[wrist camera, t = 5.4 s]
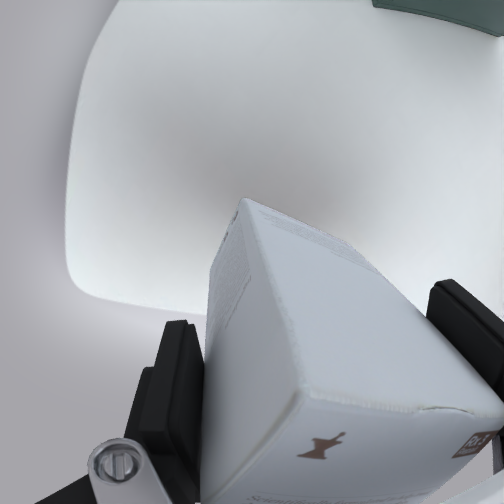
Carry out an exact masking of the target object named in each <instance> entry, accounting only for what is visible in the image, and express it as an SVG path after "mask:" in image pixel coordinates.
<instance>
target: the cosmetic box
mask: <svg viewBox="0 0 504 504" xmlns="http://www.w3.org/2000/svg"><path fill="white" fill-rule="evenodd" d="M503 426H504V403H503V402H502V400H501V399H500V398H499V397H498V395H497V394H496V393H495V392H494V391H493V389H492V388H491V387H490V386H489V385H488V384H487V382H486V381H485V380H484V379H483V378H482V377H481V376H480V374H479V373H478V372H477V371H476V370H475V369H474V368H473V367H472V365H471V364H470V363H469V362H468V361H467V360H466V359H465V358H464V357H463V356H462V355H461V353H460V352H459V351H458V350H457V349H456V348H455V347H454V346H453V345H452V344H451V343H450V342H449V341H448V340H447V339H446V338H445V336H444V335H443V334H442V333H441V332H440V331H439V330H438V329H437V328H436V327H435V326H434V325H433V324H432V323H431V322H430V321H429V320H428V319H427V318H426V317H425V316H424V315H423V314H422V313H421V312H420V311H419V310H418V309H417V308H416V307H415V306H414V305H413V304H412V303H411V302H410V301H409V300H408V299H407V298H406V297H405V296H404V295H403V294H402V293H401V292H400V291H399V290H398V289H397V288H396V287H394V286H393V285H392V284H391V283H390V282H389V281H388V280H387V279H386V278H385V277H384V276H383V275H382V274H381V273H380V272H379V271H378V270H377V269H376V268H375V267H373V266H372V265H371V264H370V263H369V262H368V261H367V260H366V259H365V258H364V257H363V256H362V255H361V254H359V253H358V252H357V251H356V250H355V249H354V248H353V247H352V246H351V245H349V244H348V243H346V242H344V241H342V240H340V239H338V238H336V237H333V236H331V235H329V234H327V233H325V232H323V231H320V230H318V229H316V228H314V227H312V226H310V225H307V224H305V223H303V222H301V221H298V220H296V219H294V218H292V217H289V216H287V215H285V214H283V213H280V212H278V211H276V210H274V209H271V208H269V207H267V206H264V205H262V204H260V203H258V202H255V201H253V200H250V199H248V198H242V199H241V201H240V202H239V205H238V207H237V209H236V212H235V214H234V216H233V218H232V220H231V222H230V225H229V227H228V229H227V231H226V234H225V236H224V238H223V240H222V243H221V245H220V247H219V250H218V252H217V254H216V257H215V259H214V261H213V264H212V266H211V269H210V283H209V293H208V309H207V323H206V339H205V358H204V377H203V400H202V447H201V465H200V502H201V504H419V503H421V502H422V501H424V500H425V499H426V498H428V497H429V496H430V495H431V494H433V493H434V492H435V491H437V490H438V489H439V488H440V487H441V486H443V485H444V484H445V483H446V482H447V481H448V480H449V479H451V478H452V477H453V476H454V475H455V474H456V473H457V472H458V471H460V470H461V469H462V468H463V467H464V466H465V465H466V464H467V463H468V462H469V461H470V460H472V459H473V458H474V457H475V456H476V455H477V454H478V453H479V452H480V450H482V449H483V448H484V447H485V446H486V444H488V442H489V441H490V440H491V439H492V438H493V437H494V436H495V435H496V434H497V433H498V431H499V430H500V429H501V428H502V427H503Z"/></svg>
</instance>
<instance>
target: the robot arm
mask: <svg viewBox="0 0 504 504" xmlns="http://www.w3.org/2000/svg"><path fill="white" fill-rule="evenodd" d="M426 318H427V319H428V320H429V321H430V322H431V323H432V324H433V325H434V326H435V327H436V328H437V329H438V330H439V331H440V332H441V333H442V334H443V335H444V336H445V338H446V339H447V340H448V341H449V342H450V343H451V344H452V345H453V346H454V347H455V348H456V349H457V350H458V351H459V352H460V353H461V355H462V356H463V357H464V358H465V359H466V360H467V361H468V362H469V363H470V364H471V365H472V367H473V368H474V369H475V370H476V371H477V372H478V373H479V374H480V376H481V377H482V378H483V379H484V380H485V381H486V382H487V384H488V385H489V386H490V387H491V388H492V389H493V391H494V392H495V393H496V394H497V395H498V397H499V398H500V399H501V400H502V402H503V403H504V322H503V321H502V320H501V319H500V318H499V317H497V316H496V315H495V314H494V313H493V312H492V311H491V310H489V309H488V308H487V307H486V306H485V305H484V304H482V303H481V302H480V301H479V300H478V299H476V298H475V297H474V296H473V295H472V294H470V293H469V292H468V291H467V290H466V289H464V288H463V287H462V286H461V285H459V284H458V283H457V282H456V281H454V280H453V279H447V280H443V281H438V282H436V283H435V285H434V287H432V288H431V290H430V295H429V301H428V307H427V313H426ZM203 377H204V361H203V357H202V353H201V349H200V345H199V341H198V337H197V333H196V328H195V326H194V324H188V322H187V320H177V321H168V322H166V325H165V329H164V332H163V336H162V339H161V342H160V346H159V350H158V353H157V357H156V361H155V365H154V367H145V368H144V369H143V371H142V374H141V377H140V380H139V384H138V388H137V391H136V394H135V398H134V401H133V405H132V408H131V412H130V416H129V419H128V423H127V426H126V430H125V434H124V438H116V439H111V440H108V441H106V442H104V443H101V444H100V445H99V446H97V447H96V448H95V449H94V450H93V452H92V453H91V455H90V456H89V460H88V463H87V466H88V474H87V475H85V476H84V477H82V478H80V479H78V480H77V481H75V482H73V483H71V484H70V485H68V486H66V487H64V488H63V489H61V490H59V491H57V492H55V493H54V494H52V495H50V496H48V497H46V498H45V499H43V500H41V501H39V502H37V503H35V504H195V503H196V502H197V503H200V465H201V447H202V400H203ZM492 449H493V476H492V477H490V478H488V479H487V480H485V481H483V482H481V483H479V484H478V485H476V486H474V487H472V488H470V489H468V490H466V491H464V492H462V493H460V494H458V495H456V496H454V497H452V498H450V499H448V500H446V501H443V502H441V503H439V504H504V426H503V427H502V428H501V429H500V430H499V431H498V433H497V434H496V435H495V436H494V437H493V438H492Z"/></svg>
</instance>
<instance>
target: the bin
mask: <svg viewBox="0 0 504 504" xmlns="http://www.w3.org/2000/svg"><path fill="white" fill-rule="evenodd" d="M372 2H373V6H374V7H379V8H386V9H392V10H399V11H404V12H410V13H415V14H420V15H424V16H429V17H433V18H437V19H441V20H445V21H449V22H453V23H457V24H460V25H464V26H467V27H470V28H473V29H477V30H480V31H483V32H486V33H489V34H491V35H494V36H497V37H501V36H504V0H372Z"/></svg>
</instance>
